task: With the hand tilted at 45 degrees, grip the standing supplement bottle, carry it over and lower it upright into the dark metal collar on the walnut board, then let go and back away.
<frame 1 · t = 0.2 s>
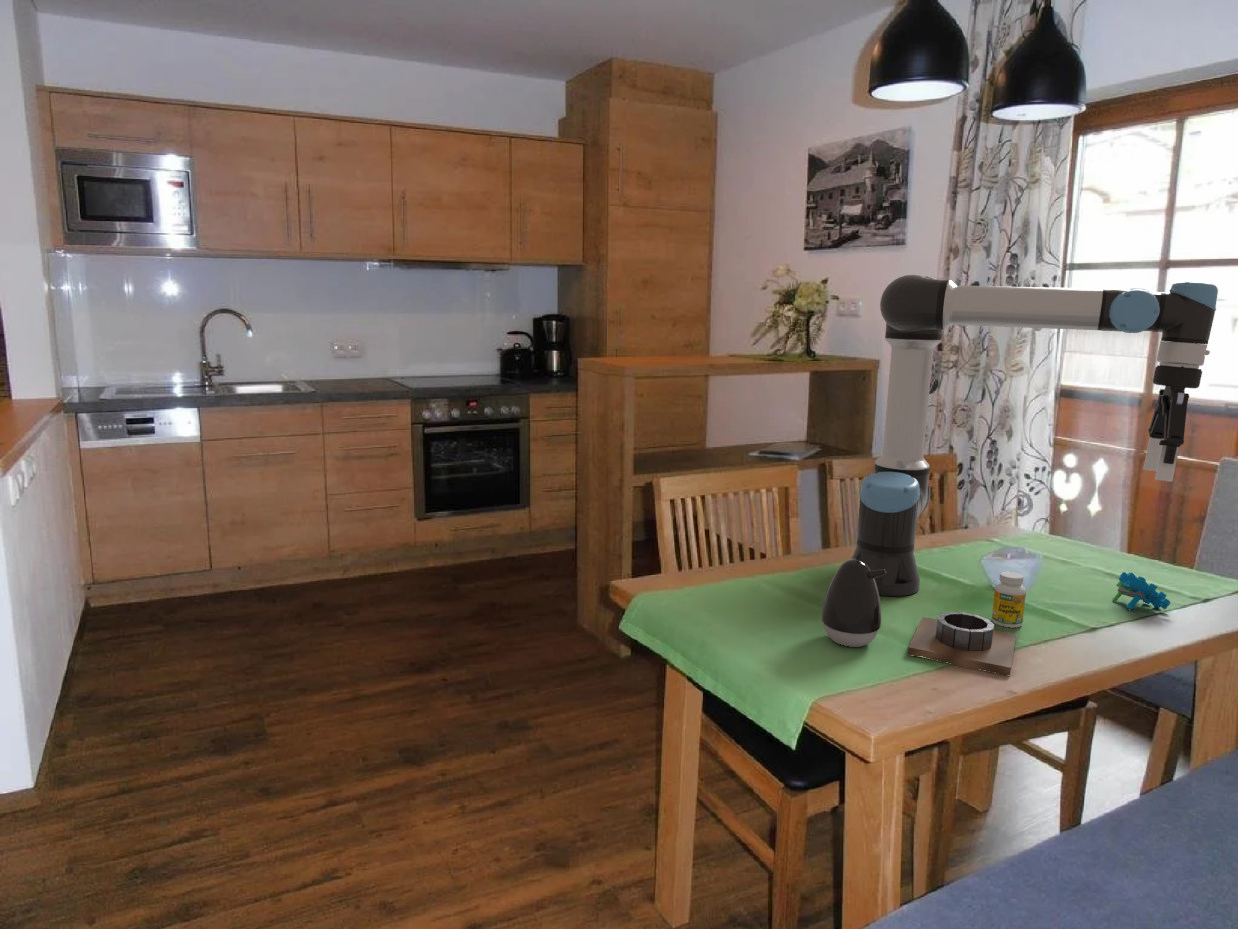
hand: (1157, 475, 162), 27 cm above the table, tool pointing down, fingers open, 13 cm apart
board: (962, 648, 147), on the table
collar: (964, 631, 146), on the board, point 3 cm above the table
supplement bottle: (1006, 624, 159), on the table
gear: (1138, 608, 168), on the table
pump dispenser: (850, 642, 149), on the table
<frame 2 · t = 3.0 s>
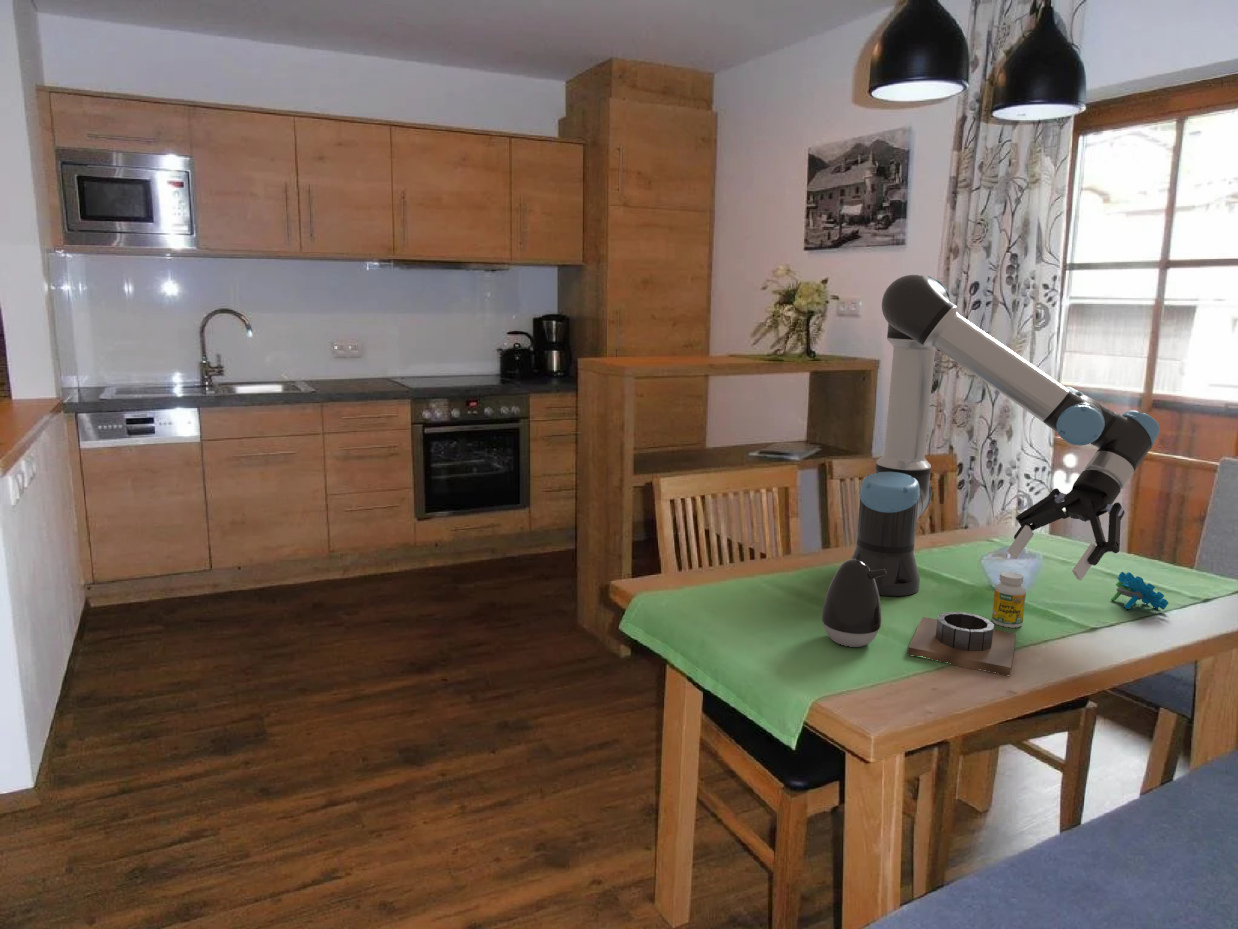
hand: (1042, 565, 159), 11 cm above the table, tool tilted 45°, fingers open, 13 cm apart
nothing on the table moved.
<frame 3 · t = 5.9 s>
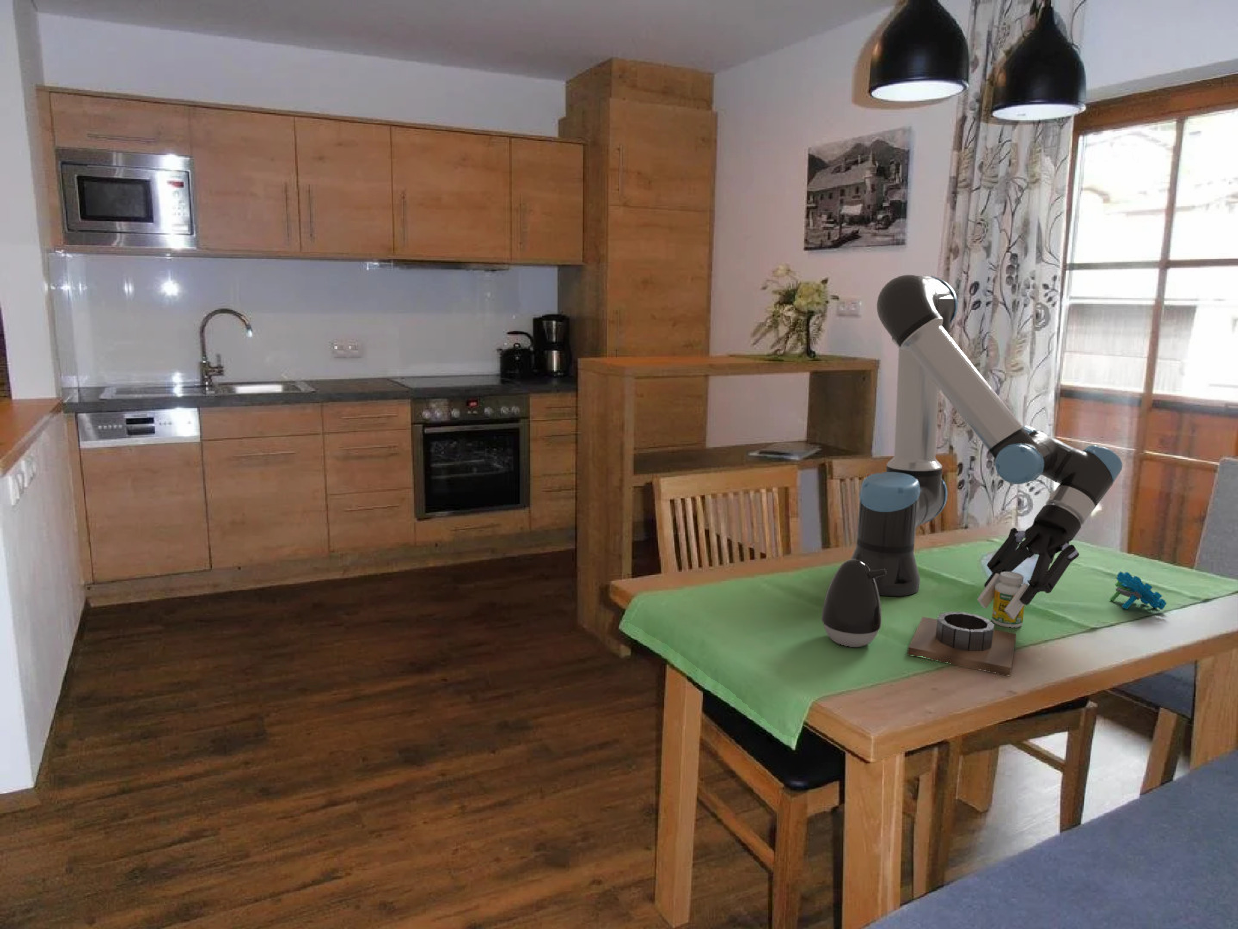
hand: (995, 609, 157), 3 cm above the table, tool tilted 45°, fingers closed on supplement bottle, 5 cm apart
supplement bottle: (1006, 623, 159), on the table, touching gripper
everything else where it was.
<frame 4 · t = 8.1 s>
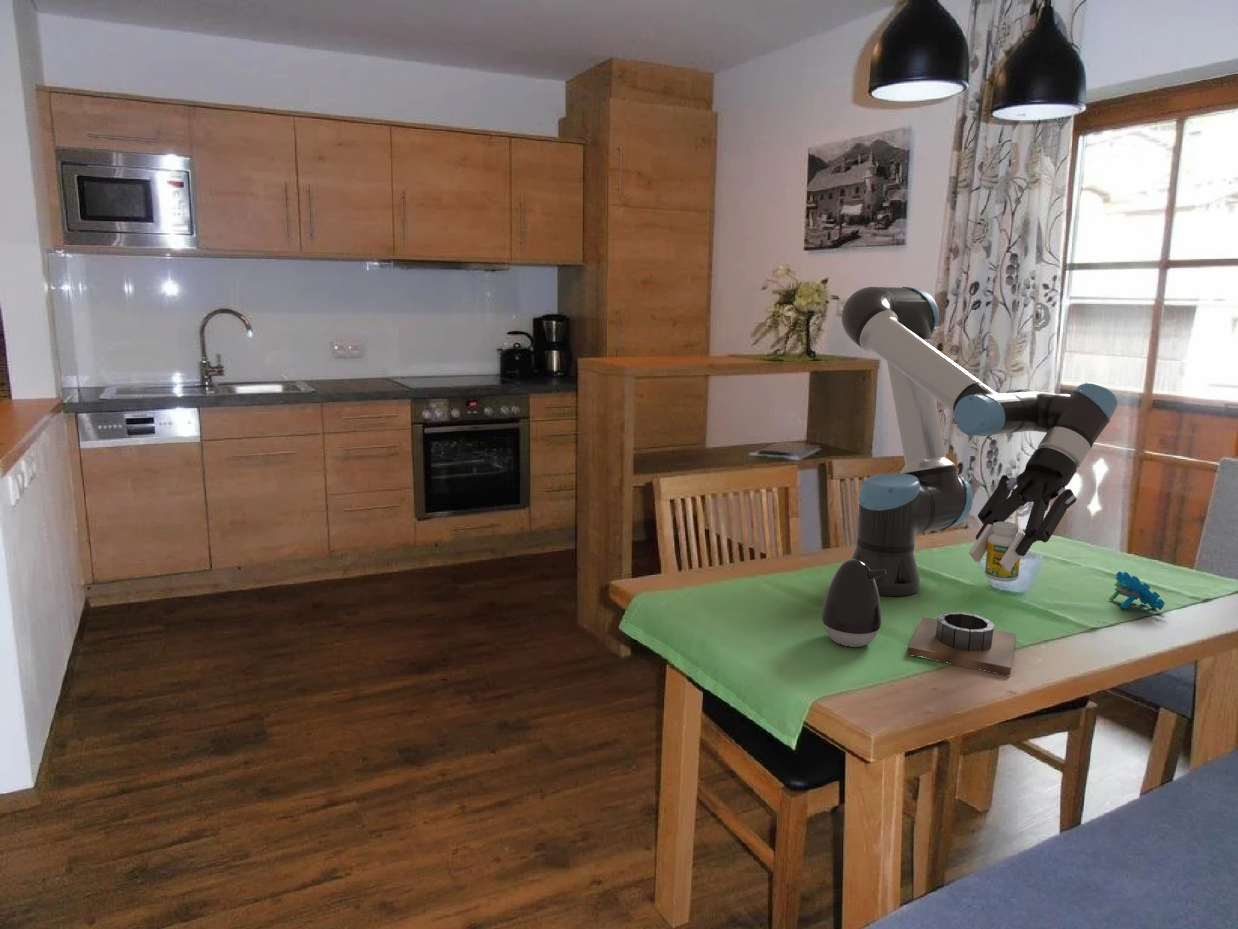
hand: (988, 562, 145), 16 cm above the table, tool tilted 45°, fingers closed on supplement bottle, 5 cm apart
supplement bottle: (1000, 578, 147), point 12 cm above the table, touching gripper
everything else where it was.
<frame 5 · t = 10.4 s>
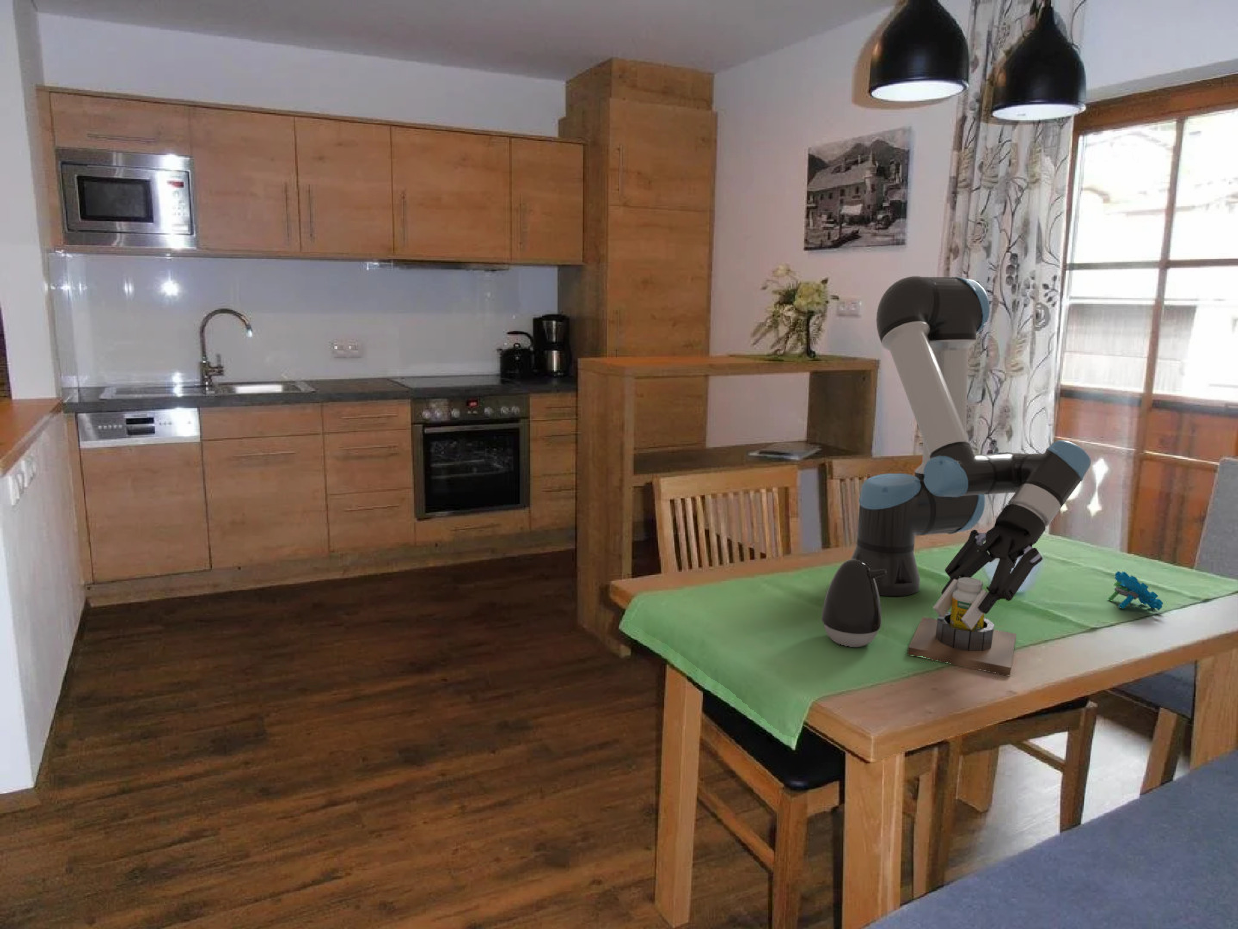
hand: (952, 618, 144), 6 cm above the table, tool tilted 45°, fingers closed on supplement bottle, 5 cm apart
supplement bottle: (965, 634, 146), point 3 cm above the table, touching gripper
when the fingers open (6 cm above the table, at t = 10.4 s): supplement bottle drops 1 cm, resting on board.
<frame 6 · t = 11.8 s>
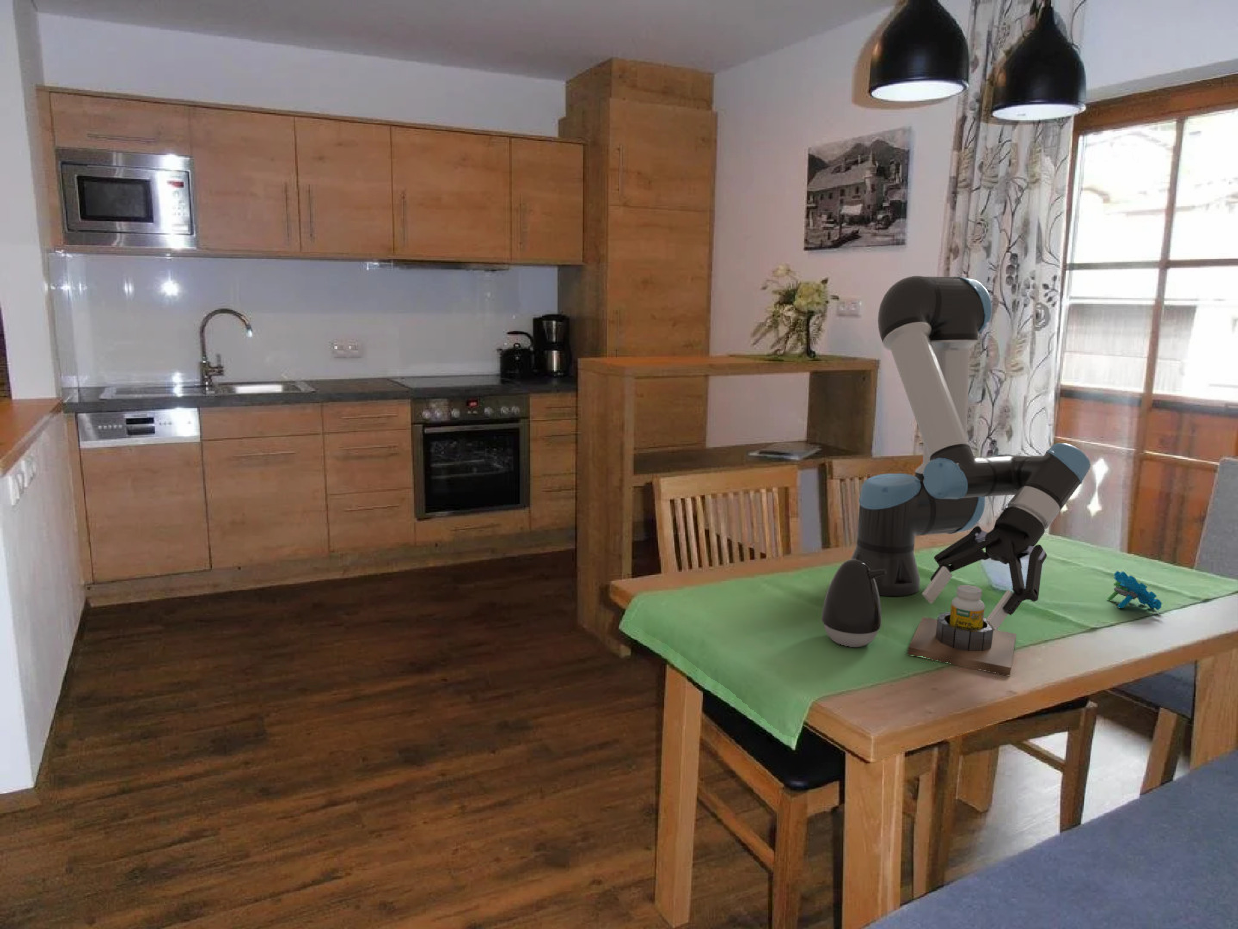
hand: (957, 611, 144), 7 cm above the table, tool tilted 45°, fingers open, 13 cm apart
supplement bottle: (964, 641, 147), point 1 cm above the table, touching board
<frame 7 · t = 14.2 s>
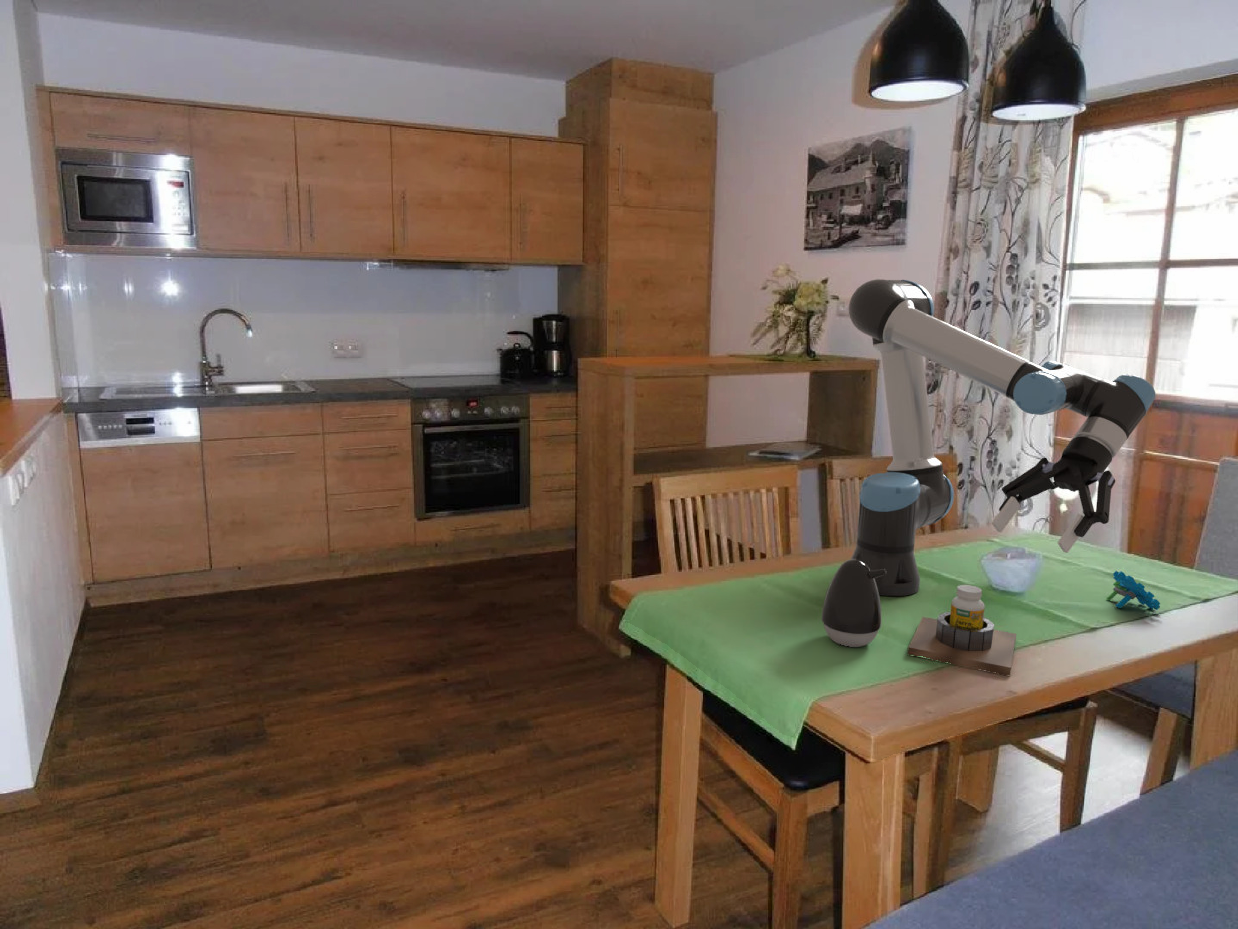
hand: (1027, 537, 150), 18 cm above the table, tool tilted 45°, fingers open, 13 cm apart
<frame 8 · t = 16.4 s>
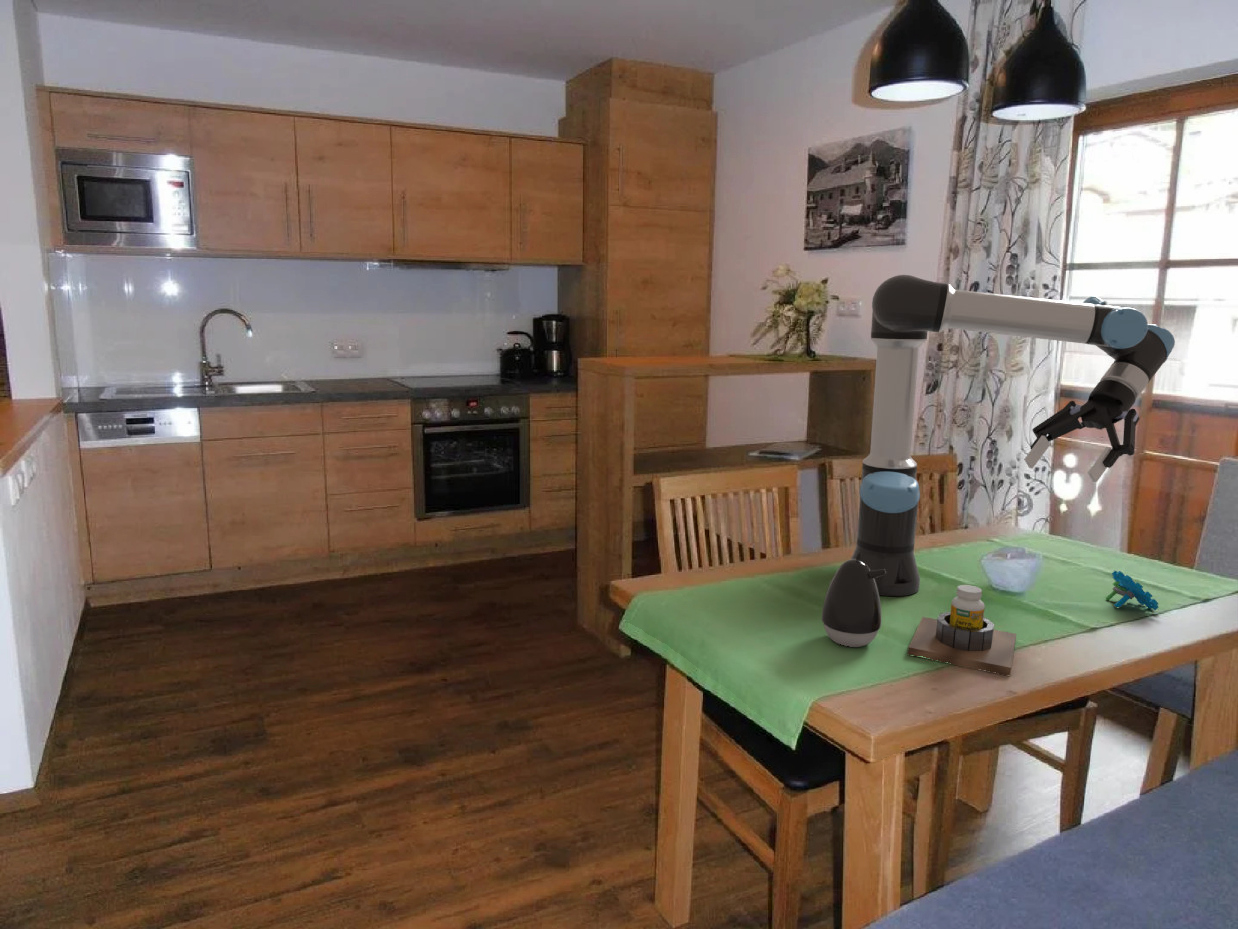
hand: (1058, 470, 163), 28 cm above the table, tool tilted 45°, fingers open, 13 cm apart
at the end: supplement bottle 0.1 cm off-centre on the collar, point 1.3 cm above the collar's base; supplement bottle tilted 0°; the gripper is holding nothing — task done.
